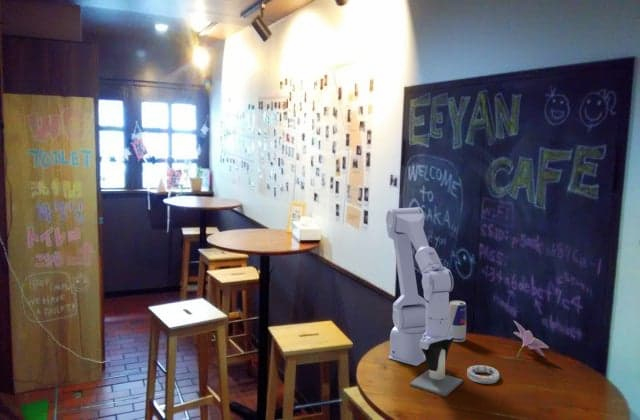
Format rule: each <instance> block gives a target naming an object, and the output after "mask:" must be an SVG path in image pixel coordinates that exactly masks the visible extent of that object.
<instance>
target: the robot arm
mask: <svg viewBox="0 0 640 420" xmlns="http://www.w3.org/2000/svg"><path fill="white" fill-rule="evenodd" d="M385 224H386V231H387V235H388V238H390V239H392V240H393V241H392V242H393V245H394V246H393V247H394V251H395V253H394V255H395V261H396V267H397V275H398V282H399V283H398V284H399V291H400V296H399V297H398V298H397V299H396V300H395V301H394V302H393V304H392V322H393V325H394V327H393V328H392V329H391V331H390V334H389V356H388V359H390V360H394V361H397V362H401V363H405V364H409V365H412V366H414V367H418V366H420V365H421V364H422V363H424V362H425V361H426V365H427V369H428V370H432V371H437V368H438V361H439V356H440V353H441V350H442V348H443V349H444V350H445V363H446V362H447V358H448V354H449V351H450V348H451V346H452V344H453V343H454V342H453V336H452V335H450V334H451V333H453V326H451V325H449V303H450V301H449V300H450V292H452V291H453V288H454V277H453V275H452V272H451V270H450V269H449V268H447V267H446V266H443V263H442V262H441V259H440V257H439V255H438V253H437V251H436V249H435V247H431V246H430V244H429V242H428V239H427V236H426V233H425V230H424V226H425V212H424V210H423V209H422V208H421V206H416V207H403V208H402V207H401V208H399V207H398V208H394V207H390V208H389V209H388V210H387V212H386V217H385ZM412 245H413V247H412ZM412 248H414V249H415V251H416V253H415V255H414V257H413V249H412ZM414 258H415V261H416V263H417V266H418V268H419V270H420V273H421V275H422V278H421V286H422V289H423V297H422V296H420V295H419V292H418V284H417V278H416V277H417V276H416V272H415V263H414V262H415V261H414Z"/></svg>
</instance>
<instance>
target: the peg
mask: <svg viewBox="0 0 640 420" xmlns="http://www.w3.org/2000/svg"><path fill="white" fill-rule="evenodd" d="M428 370H429V369H428ZM445 375H446V362H445V350H444V349H443V348H442V350H441V353H440V356H439V361H438V368H437V371H432V370H429V377H430V378H432V379H437V380H440V379H444V378H445Z"/></svg>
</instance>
